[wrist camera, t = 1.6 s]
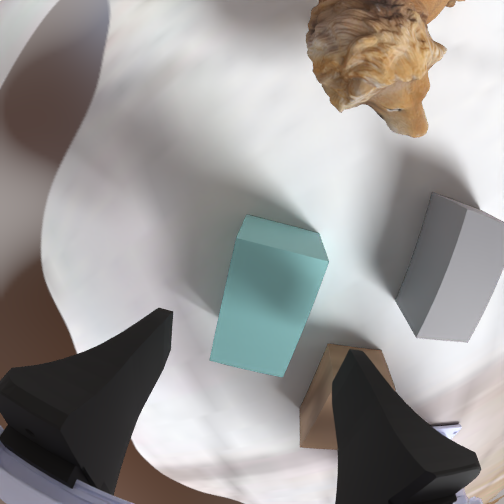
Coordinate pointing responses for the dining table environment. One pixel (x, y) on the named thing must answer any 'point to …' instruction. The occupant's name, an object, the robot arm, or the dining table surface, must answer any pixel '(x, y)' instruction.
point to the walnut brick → (329, 397)
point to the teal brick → (268, 295)
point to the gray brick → (452, 271)
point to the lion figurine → (377, 56)
